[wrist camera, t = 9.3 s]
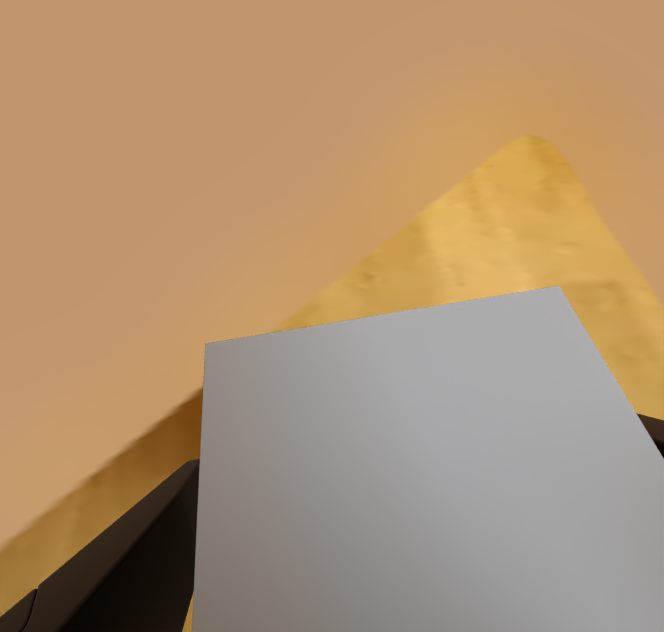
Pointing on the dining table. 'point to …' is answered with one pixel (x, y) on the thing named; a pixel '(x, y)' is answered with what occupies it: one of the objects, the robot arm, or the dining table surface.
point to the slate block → (426, 478)
